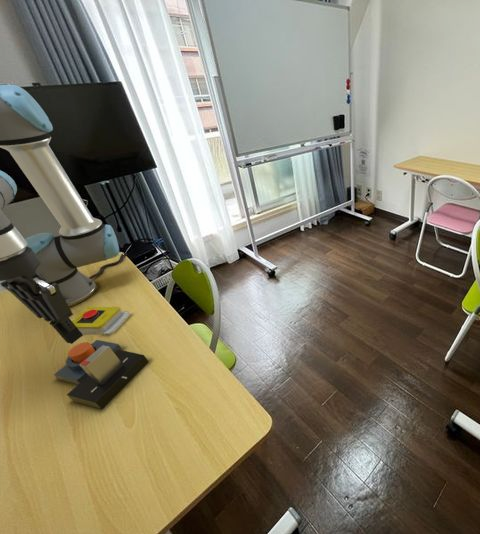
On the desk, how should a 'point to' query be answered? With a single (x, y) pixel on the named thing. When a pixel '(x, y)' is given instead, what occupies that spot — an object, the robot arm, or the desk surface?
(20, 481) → the desk surface
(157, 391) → the desk surface
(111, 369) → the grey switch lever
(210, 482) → the desk surface
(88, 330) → the emergency button
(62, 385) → the desk surface
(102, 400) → the cooker panel
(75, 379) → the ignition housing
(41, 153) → the robot arm
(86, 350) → the push knob
